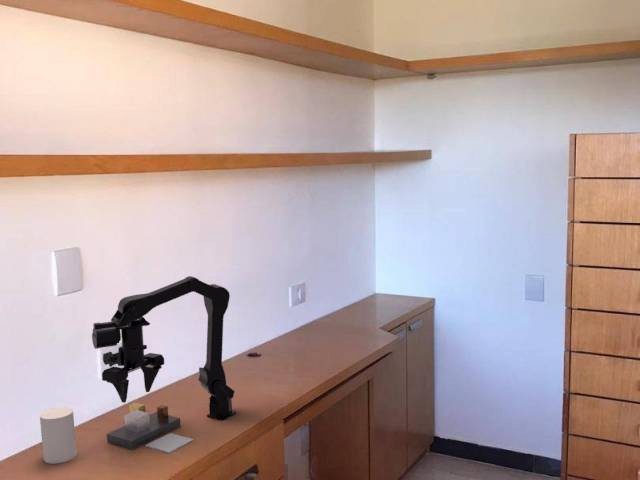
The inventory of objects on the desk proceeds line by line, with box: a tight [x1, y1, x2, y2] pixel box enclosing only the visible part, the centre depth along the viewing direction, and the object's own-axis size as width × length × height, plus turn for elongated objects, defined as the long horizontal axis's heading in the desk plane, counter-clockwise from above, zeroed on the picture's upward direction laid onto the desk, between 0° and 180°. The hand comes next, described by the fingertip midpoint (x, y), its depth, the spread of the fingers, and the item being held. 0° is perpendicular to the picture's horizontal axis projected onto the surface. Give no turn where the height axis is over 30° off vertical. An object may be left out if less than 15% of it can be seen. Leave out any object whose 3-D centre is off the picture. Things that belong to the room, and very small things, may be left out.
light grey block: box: [123, 410, 150, 433], centre depth 185 cm, size 4×5×4 cm
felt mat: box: [145, 432, 194, 454], centre depth 180 cm, size 9×9×1 cm
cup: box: [39, 406, 78, 465], centre depth 174 cm, size 8×8×12 cm
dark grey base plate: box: [106, 404, 182, 451], centre depth 186 cm, size 18×10×6 cm, turn 146°
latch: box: [128, 402, 146, 413], centre depth 191 cm, size 2×4×4 cm, turn 56°
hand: (136, 397), depth 185 cm, fingers open, 9 cm apart
